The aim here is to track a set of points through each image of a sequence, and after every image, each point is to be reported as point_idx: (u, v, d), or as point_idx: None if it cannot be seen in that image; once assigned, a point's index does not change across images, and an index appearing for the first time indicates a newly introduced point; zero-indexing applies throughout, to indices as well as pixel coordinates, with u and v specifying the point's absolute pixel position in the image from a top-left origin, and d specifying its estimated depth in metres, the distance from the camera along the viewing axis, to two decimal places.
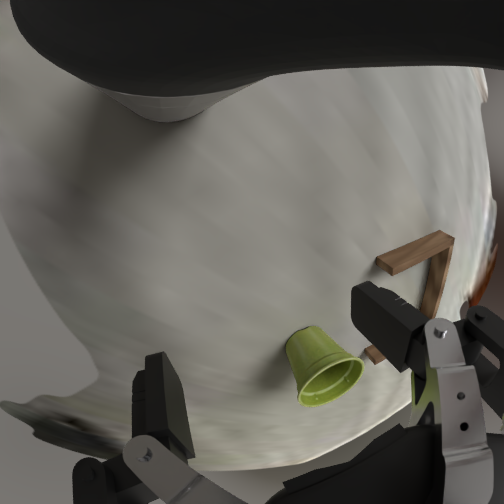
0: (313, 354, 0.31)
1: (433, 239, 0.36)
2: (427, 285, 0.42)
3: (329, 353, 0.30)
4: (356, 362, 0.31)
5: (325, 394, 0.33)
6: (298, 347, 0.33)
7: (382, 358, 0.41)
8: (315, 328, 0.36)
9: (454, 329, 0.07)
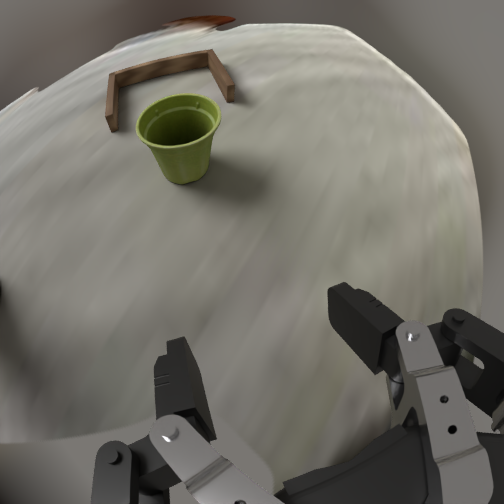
0: (152, 152, 0.28)
1: None
2: (165, 73, 0.42)
3: None
4: (167, 106, 0.28)
5: (215, 119, 0.28)
6: (164, 170, 0.30)
7: (227, 80, 0.37)
8: None
9: (427, 332, 0.07)
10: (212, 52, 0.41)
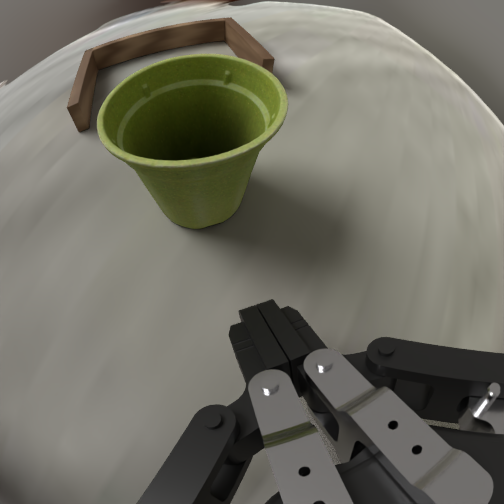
0: None
1: None
2: (164, 48, 0.28)
3: None
4: (166, 77, 0.13)
5: (268, 103, 0.13)
6: (162, 205, 0.15)
7: (261, 52, 0.22)
8: None
9: (341, 364, 0.07)
10: (232, 20, 0.26)
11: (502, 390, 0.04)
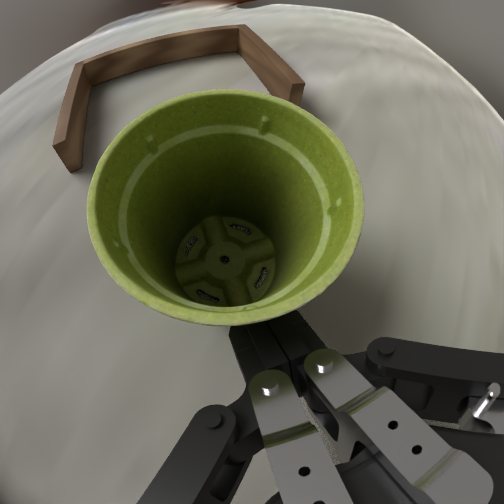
0: (149, 270, 0.10)
1: None
2: (168, 60, 0.25)
3: None
4: (179, 123, 0.11)
5: (327, 174, 0.10)
6: (185, 298, 0.13)
7: (288, 74, 0.19)
8: (172, 250, 0.15)
9: (341, 364, 0.07)
10: (246, 28, 0.23)
11: (502, 390, 0.04)
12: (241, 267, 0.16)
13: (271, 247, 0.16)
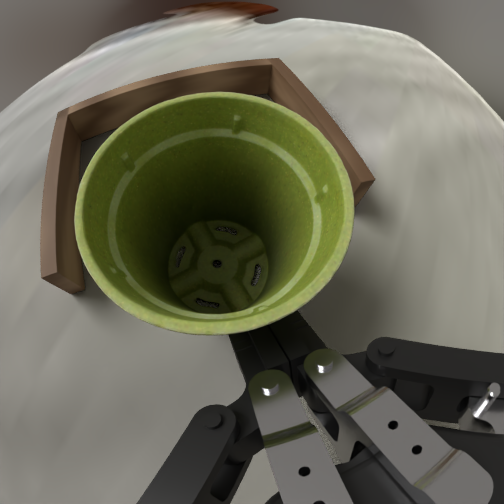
0: (149, 289, 0.10)
1: None
2: None
3: None
4: (151, 136, 0.10)
5: (308, 164, 0.10)
6: None
7: (354, 161, 0.16)
8: (163, 264, 0.15)
9: (341, 364, 0.07)
10: (283, 66, 0.20)
11: (502, 390, 0.04)
12: (234, 268, 0.16)
13: (261, 243, 0.16)
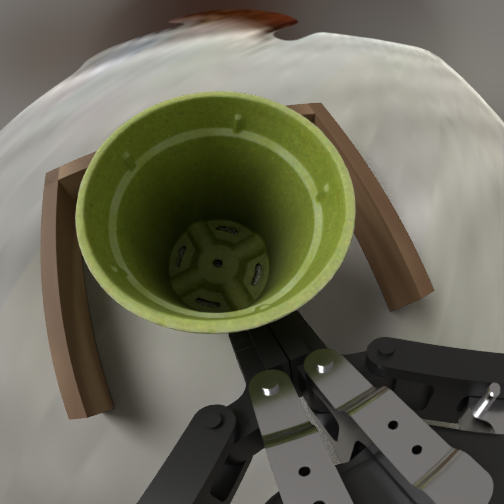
0: (150, 288, 0.10)
1: None
2: None
3: None
4: (152, 135, 0.10)
5: (309, 163, 0.10)
6: (189, 309, 0.12)
7: (415, 270, 0.13)
8: (164, 264, 0.15)
9: (341, 364, 0.07)
10: (328, 116, 0.17)
11: (502, 390, 0.04)
12: (235, 267, 0.16)
13: (261, 242, 0.16)
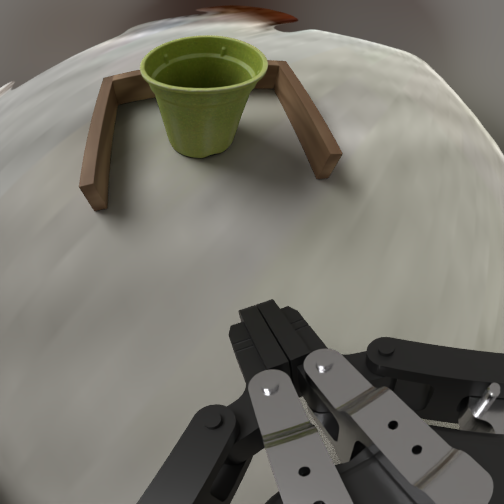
0: (162, 108, 0.17)
1: None
2: None
3: None
4: (180, 51, 0.18)
5: (254, 65, 0.18)
6: (178, 136, 0.20)
7: (327, 139, 0.21)
8: None
9: (341, 364, 0.07)
10: (287, 67, 0.25)
11: (502, 390, 0.04)
12: None
13: None
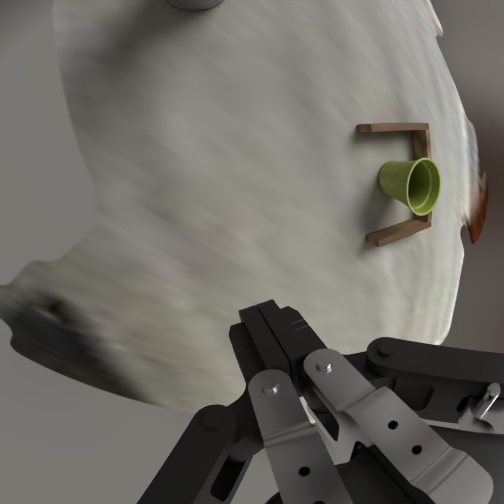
0: (403, 165, 0.37)
1: None
2: None
3: (413, 161, 0.36)
4: (433, 173, 0.37)
5: (421, 209, 0.38)
6: (389, 169, 0.39)
7: (385, 240, 0.43)
8: None
9: (341, 364, 0.07)
10: (426, 226, 0.46)
11: (502, 390, 0.04)
12: None
13: None
